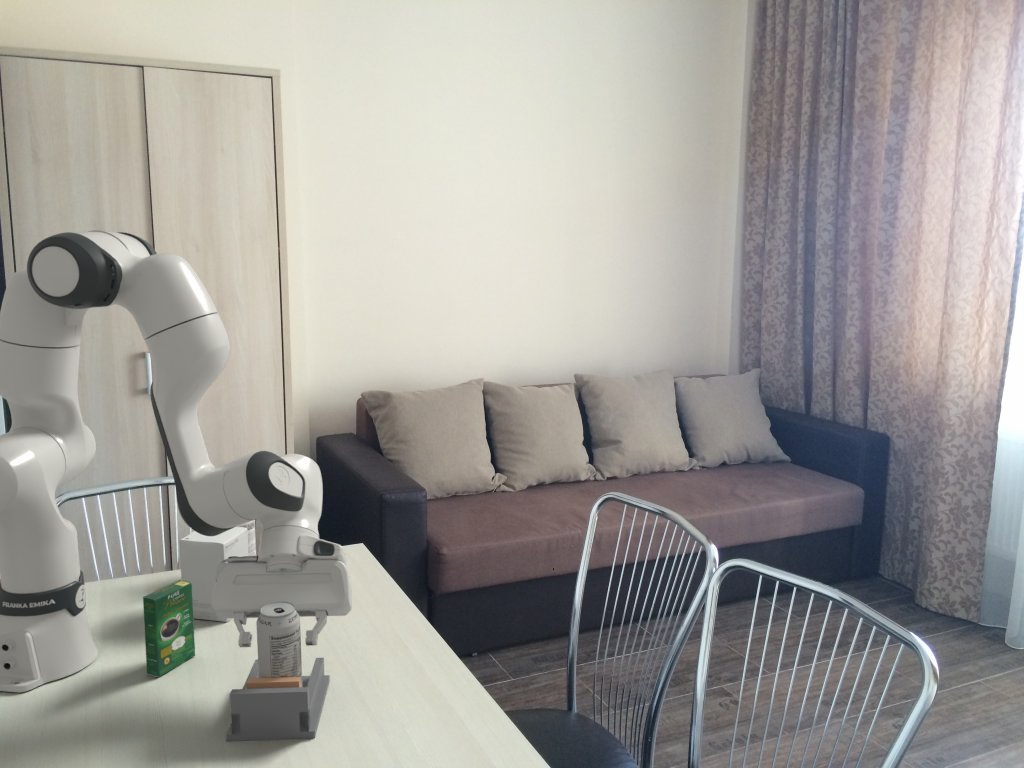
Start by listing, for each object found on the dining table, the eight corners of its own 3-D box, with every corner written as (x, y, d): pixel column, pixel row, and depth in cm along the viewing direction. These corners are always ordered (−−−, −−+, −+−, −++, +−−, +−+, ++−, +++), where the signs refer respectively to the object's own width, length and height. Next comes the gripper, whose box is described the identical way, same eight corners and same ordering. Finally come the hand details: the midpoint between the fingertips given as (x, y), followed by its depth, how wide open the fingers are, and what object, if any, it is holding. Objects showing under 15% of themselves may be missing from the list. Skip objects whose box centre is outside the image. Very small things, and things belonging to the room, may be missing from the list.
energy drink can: (292, 689, 127) (289, 596, 124) (309, 706, 122) (306, 610, 119) (253, 702, 123) (249, 606, 120) (269, 721, 118) (265, 622, 116)
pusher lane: (226, 740, 115) (223, 694, 114) (251, 683, 130) (249, 641, 129) (314, 737, 116) (313, 691, 115) (329, 681, 131) (328, 639, 130)
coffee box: (184, 651, 140) (179, 577, 137) (197, 655, 139) (193, 580, 136) (145, 674, 132) (140, 596, 130) (159, 678, 131) (154, 600, 129)
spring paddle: (248, 720, 118) (246, 682, 117) (250, 715, 119) (248, 678, 118) (300, 718, 119) (299, 681, 118) (301, 713, 120) (300, 676, 119)
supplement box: (227, 623, 150) (223, 544, 147) (182, 618, 152) (177, 539, 149) (252, 602, 159) (249, 526, 156) (209, 597, 160) (205, 522, 158)
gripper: (214, 548, 125) (198, 640, 117) (352, 545, 127) (346, 636, 119) (223, 564, 130) (209, 654, 123) (356, 562, 132) (350, 650, 124)
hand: (277, 645), depth 121 cm, fingers open, 8 cm apart
